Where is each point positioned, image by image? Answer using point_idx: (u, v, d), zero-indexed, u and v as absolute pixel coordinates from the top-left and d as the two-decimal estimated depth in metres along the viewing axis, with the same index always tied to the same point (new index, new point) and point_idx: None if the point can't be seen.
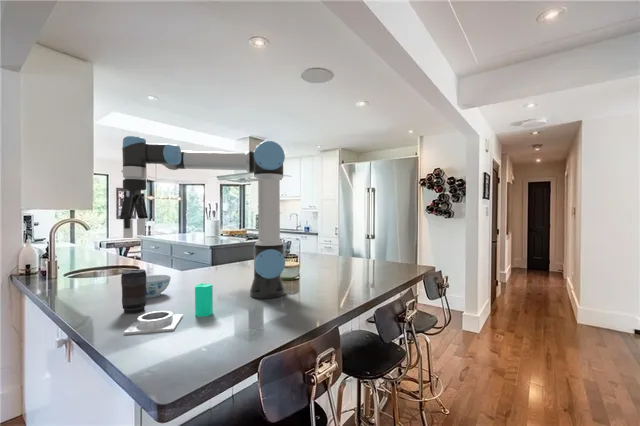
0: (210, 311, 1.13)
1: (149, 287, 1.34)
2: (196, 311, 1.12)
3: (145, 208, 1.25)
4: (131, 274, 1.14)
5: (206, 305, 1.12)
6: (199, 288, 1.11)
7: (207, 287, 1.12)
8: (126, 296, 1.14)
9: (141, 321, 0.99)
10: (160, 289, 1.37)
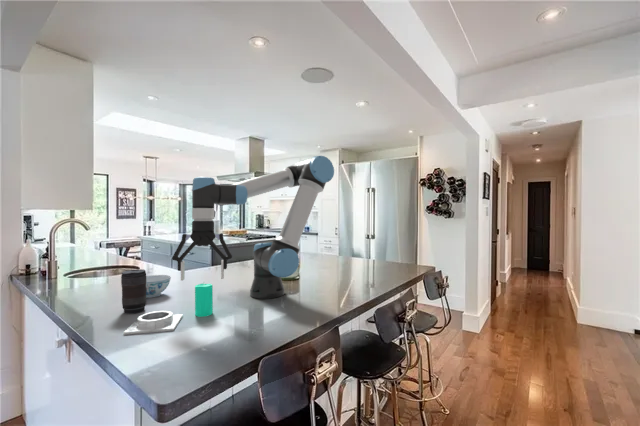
0: (210, 311, 1.13)
1: (149, 287, 1.34)
2: (196, 311, 1.12)
3: (226, 249, 1.15)
4: (131, 274, 1.14)
5: (206, 305, 1.12)
6: (199, 288, 1.11)
7: (207, 287, 1.12)
8: (126, 296, 1.14)
9: (141, 321, 0.99)
10: (160, 289, 1.37)
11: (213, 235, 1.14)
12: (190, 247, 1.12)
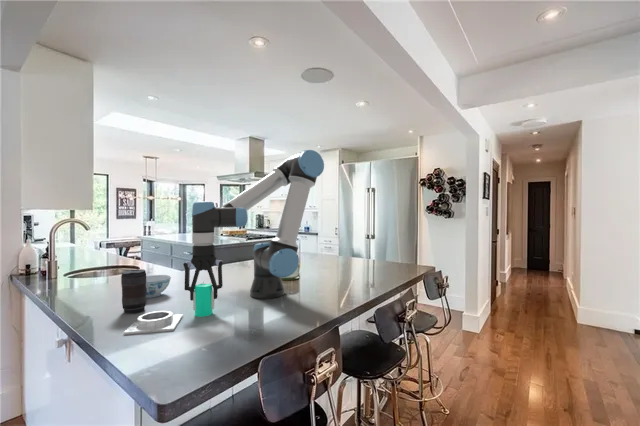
0: (210, 311, 1.13)
1: (149, 287, 1.34)
2: (196, 311, 1.12)
3: (219, 278, 1.14)
4: (131, 274, 1.14)
5: (205, 305, 1.12)
6: (199, 288, 1.11)
7: (207, 287, 1.12)
8: (126, 296, 1.14)
9: (141, 321, 0.99)
10: (160, 289, 1.37)
11: (214, 260, 1.14)
12: (196, 274, 1.12)
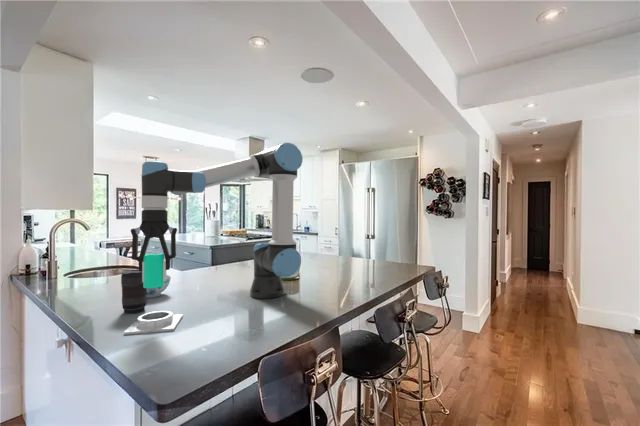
0: (161, 282, 1.02)
1: None
2: (144, 283, 1.00)
3: (172, 247, 1.04)
4: (131, 274, 1.14)
5: (156, 275, 1.01)
6: (148, 256, 1.00)
7: (158, 256, 1.01)
8: (126, 296, 1.14)
9: (141, 321, 0.99)
10: (160, 289, 1.37)
11: (167, 227, 1.04)
12: (145, 242, 1.01)
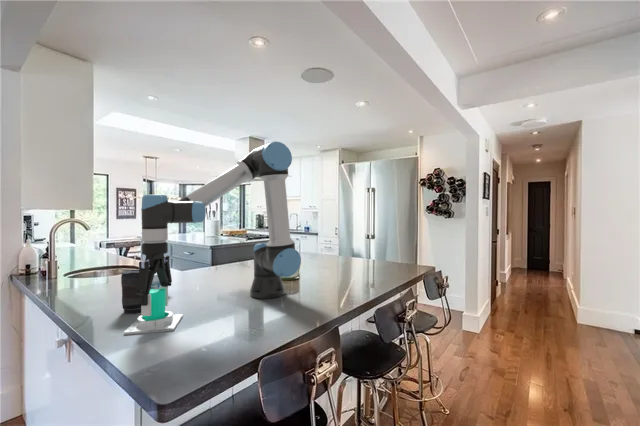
0: None
1: None
2: None
3: (169, 273, 1.10)
4: (131, 274, 1.14)
5: None
6: (161, 292, 1.02)
7: None
8: (126, 296, 1.14)
9: (141, 321, 0.99)
10: None
11: (164, 257, 1.07)
12: (153, 274, 1.00)
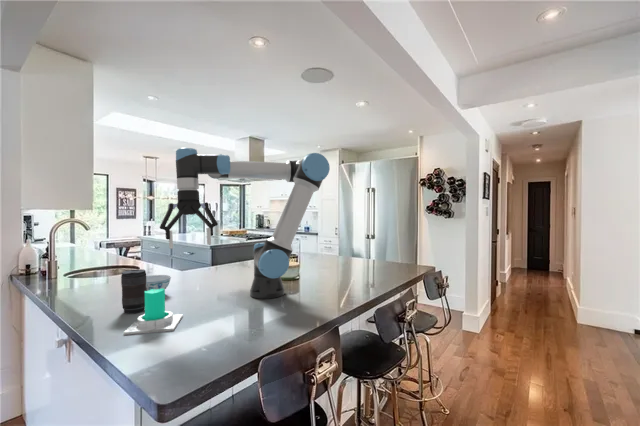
0: None
1: (149, 287, 1.34)
2: None
3: (212, 217, 1.23)
4: (131, 274, 1.14)
5: (164, 309, 1.04)
6: (161, 292, 1.02)
7: (164, 290, 1.04)
8: (126, 296, 1.14)
9: (141, 321, 0.99)
10: None
11: (199, 204, 1.20)
12: (178, 216, 1.15)
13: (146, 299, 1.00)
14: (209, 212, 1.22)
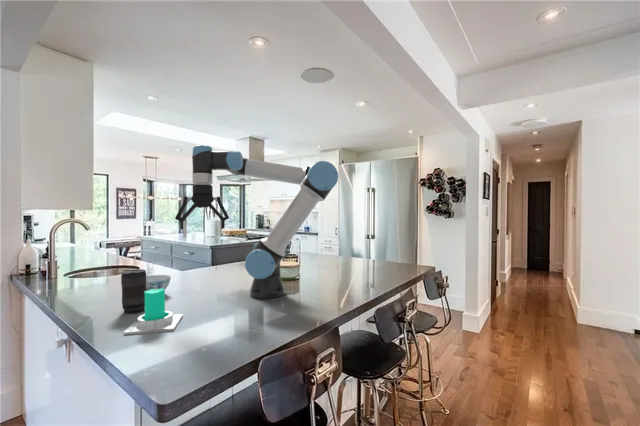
0: None
1: (149, 287, 1.34)
2: None
3: (223, 211, 1.28)
4: (131, 274, 1.14)
5: (164, 309, 1.04)
6: (161, 292, 1.02)
7: (164, 290, 1.04)
8: (126, 296, 1.14)
9: (141, 321, 0.99)
10: None
11: (212, 198, 1.27)
12: (191, 208, 1.25)
13: (146, 299, 1.00)
14: (221, 206, 1.28)
